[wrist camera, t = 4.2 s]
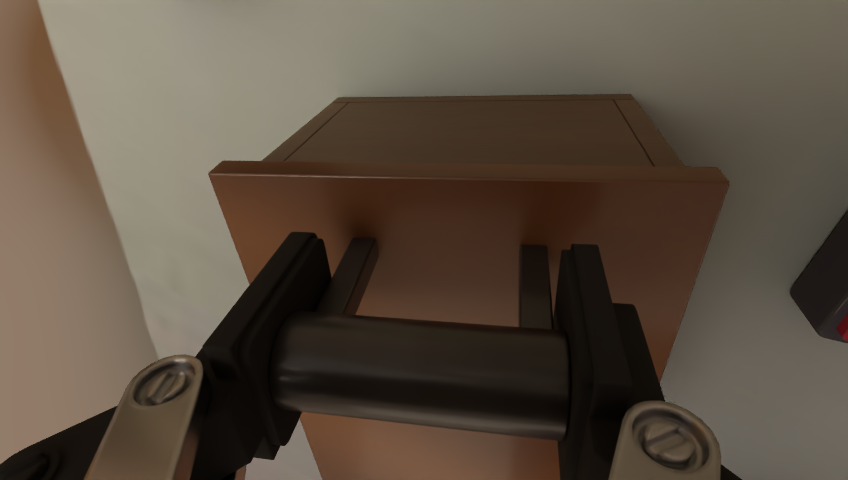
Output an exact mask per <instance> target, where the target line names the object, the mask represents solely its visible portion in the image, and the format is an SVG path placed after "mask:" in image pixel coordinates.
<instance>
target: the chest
mask: <svg viewBox="0 0 848 480" xmlns="http://www.w3.org/2000/svg"><path fill="white" fill-rule="evenodd" d="M262 161H288V162H362V163H437V164H511V165H586V166H660V167H685V166H684V164H683V163H682V162H681V160H680V159H679V158H678V156H677V155H676V154H675V152H674V151H673V150H672V148H671V147H670V146H669V144H668V143H667V142H666V140H665V139H664V138H663V137H662V135H661V134H660V133H659V131H658V130H657V129H656V127H655V126H654V125H653V123H652V122H651V121H650V119H649V118H648V117H647V115H646V114H645V113H644V111H643V110H642V109H641V107H640V106H639V105H638V103H637V102H636V101H635V100H634V98H633V97H632V96H631V94H605V95H523V96H441V97H358V98H337V99H336V100H334V101H333V102H332V103H331V104H330V105H328V106H327V107H326V108H325V109H324V110H322V111H321V112H320V113H319V114H318V115H316V116H315V117H314V118H313V119H311V120H310V121H309V122H308V123H307V124H305V125H304V126H303V127H302V128H301V129H299V130H298V131H297V132H296V133H295V134H293V135H292V136H291V137H290V138H289V139H287V140H286V141H285V142H284V143H282V144H281V145H280V146H279V147H278V148H276V149H275V150H274V151H273V152H272V153H270V154H269V155H268V156H267V157H266V158H264V159H263V160H262Z"/></svg>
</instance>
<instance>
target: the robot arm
mask: <svg viewBox="0 0 848 480" xmlns="http://www.w3.org/2000/svg"><path fill="white" fill-rule="evenodd" d="M331 278H332V277H331V272H330V267H329V262H328V257H327V253H326V248H325V243H324V241H323V239H321V238H318V237H317V235H316V234H315V233H314V232H291V233H290V234H289V235H288V236H287V238H286V239H285V240H284V241H283V243H282V244H281V245H280V247H279V248H278V249H277V250H276V252H275V253H274V254H273V256H272V257H271V258H270V260H269V261H268V262H267V263H266V265H265V266H264V267H263V269H262V270H261V271H260V272H259V274H258V275H257V276H256V278H255V279H254V280H253V282H252V283H251V284H250V285H249V287H248V288H247V289H246V291H245V292H244V293H243V294H242V296H241V297H240V298H239V300H238V301H237V302H236V304H235V305H234V306H233V307H232V309H231V310H230V311H229V313H228V314H227V315H226V316H225V318H224V319H223V320H222V322H221V323H220V324H219V325H218V327H217V328H216V329H215V331H214V332H213V333H212V335H211V336H210V337H209V338H208V340H207V341H206V342H205V344H204V345H203V348H202V349H201V350H200V352H199V353H198V354H197V355H196V357H194V356H189V355H174V356H170V357H166V358H163V359H160V360H158V361H157V362H154V363H152V364H150V365H149V366H147V367H146V368H144V369H143V370H141V371H140V372H139V373H138V374H137V375H136V376H135V377H134V378H133V379H132V380H131V382H130V383H129V385H128V386H127V388H126V389H125V392H124V394H123V396H122V398H121V400H120V402H119V404H118V406H116V407H114V408H111V409H109V410H107V411H105V412H103V413H100V414H98V415H96V416H94V417H92V418H90V419H87V420H85V421H83V422H81V423H79V424H76V425H74V426H72V427H70V428H68V429H66V430H63V431H61V432H59V433H57V434H55V435H53V436H50V437H48V438H46V439H44V440H42V441H40V442H37V443H35V444H33V445H31V446H29V447H27V448H25V449H23V450H21V451H19V452H18V453H16V454H14V455H12V456H11V457H9V458H8V459H7V460H6V461H4V462H3V463H2V464H0V480H244V479H245V473H246V465H247V464H249V463H250V462H251V461H252V459H253V457H255V458H262V459H270V460H274V458H275V456H276V454H277V452H278V450H279V448H280V445H281V446H285V445H286V444H287V443H288V442H289V440H290V438H291V435H292V433H293V431H294V429H295V427H296V425H297V422H298V420H299V418H300V416H301V414H302V412H299V411H291V410H283V409H280V408H279V407H278V406H276V404H275V403H274V401H273V399H272V396H271V393H270V388H269V363H270V356H271V351H272V347H273V344H274V341H275V338H276V335H277V333H278V330H279V328H280V326H281V325H282V323H283V322H284V320H285V319H286V318H287V317H288V316H289V315H290V314H291V313H293V312H296V311H309V312H315V310H316V308H317V306H318V304H319V302H320V300H321V298H322V296H323V294H324V292H325V290H326V288H327V286H328V284H329V282H330V280H331ZM553 321H554V330H563V331H565V332H566V334H567V337H568V341H569V347H570V357H571V410H570V421H569V428H568V433H567V436H566V439H565V440H564V441H557V442H558V456H559V470H560V479H561V480H742V479H740V478H739V477H738V476H736V475H735V474H733V473H732V472H731V471H729V470H728V469H727V468H725V467H724V466H723V465H721V453H720V447H719V443H718V441H717V439H716V437H715V436H714V434H713V432H712V430H711V429H710V428H709V427H708V426H707V425H706V424H705V423H704V422H703V421H702V420H701V419H700V418H698V417H697V416H696V415H694V414H693V413H691V412H690V411H689V410H686V409H684V408H682V407H680V406H678V405H675V404H672V403H668V402H665V400H664V397H663V393H662V390H661V387H660V384H659V380H658V377H657V374H656V371H655V367H654V364H653V361H652V358H651V354H650V351H649V348H648V345H647V342H646V338H645V335H644V332H643V329H642V325H641V322H640V319H639V316H638V312H637V310H636V307H635V306H634V305H633V304H623V303H612V299H611V295H610V291H609V287H608V283H607V279H606V275H605V271H604V267H603V263H602V259H601V255H600V251H599V247H598V245H595V244H572V245H571V248H570V250H566V249H562V251H561V258H560V266H559V274H558V283H557V291H556V299H555V307H554V316H553Z"/></svg>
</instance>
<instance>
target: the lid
mask: <svg viewBox="0 0 848 480" xmlns="http://www.w3.org/2000/svg"><path fill="white" fill-rule="evenodd" d="M209 177H210V180H211V183H212V185H213V188H214V191H215V193H216V196H217V199H218V201H219V204H220V207H221V209H222V212H223V215H224V217H225V220H226V223H227V225H228V228H229V231H230V233H231V236H232V239H233V242H234V244H235V247H236V250H237V252H238V255H239V258H240V260H241V263H242V266H243V268H244V271H245V274H246V276H247V279H248V282H249V284H251V283H252V282H253V280H254V279H255V278H256V276H257V275H258V274H259V272H260V271H261V270H262V269H263V267H264V266H265V265H266V263H267V262H268V261H269V260H270V258H271V257H272V256H273V254H274V253H275V252H276V250H277V249H278V248H279V247H280V245H281V244H282V243H283V241H284V240H285V239H286V238H287V236H288V235H289V234H290V233H291V232H314V233H315V234H316V235H317V237H318V238H321V239H323V241H324V243H325V248H326V253H327V257H328V262H329V267H330V272H331V277H332V278H331V280H330V282H329V284H328V286H327V288H326V290H325V292H324V294H323V296H322V298H321V300H320V302H319V304H318V306H317V308H316V310H315V312H309V311H296V312H293V313H291V314H290V315H289V316H288V317H287V318H286V319H285V320H284V322H283V323H282V325H281V326H280V328H279V330H278V333H277V335H276V338H275V341H274V344H273V347H272V351H271V356H270V363H269V388H270V393H271V396H272V399H273V401H274V403H275V404H276V406H278V407H279V408H280V409H283V410H291V411H299V412H302V414H301V416H300V421H301V423H302V426H303V429H304V431H305V434H306V437H307V439H308V442H309V445H310V447H311V450H312V453H313V455H314V458H315V461H316V463H317V466H318V469H319V471H320V474H321V477H322V479H323V480H561V479H560V470H559V456H558V442H557V441H564V440H565V439H566V436H567V433H568V428H569V421H570V410H571V357H570V347H569V341H568V337H567V334H566V332H565V331H563V330H554V321H553V316H554V307H555V299H556V291H557V283H558V274H559V266H560V258H561V251H562V249H566V250H570V248H571V245H572V244H595V245H598V247H599V251H600V255H601V259H602V263H603V267H604V271H605V275H606V279H607V283H608V287H609V291H610V295H611V299H612V303H623V304H633V305H634V306H635V307H636V310H637V312H638V316H639V319H640V322H641V325H642V329H643V332H644V335H645V338H646V342H647V345H648V348H649V351H650V354H651V358H652V361H653V364H654V367H655V371H656V374H657V377H658V380H659V383H660V380H661V377H662V375H663V372H664V369H665V366H666V363H667V360H668V357H669V355H670V352H671V349H672V346H673V343H674V340H675V338H676V335H677V332H678V329H679V326H680V323H681V321H682V318H683V315H684V312H685V309H686V306H687V303H688V301H689V298H690V295H691V292H692V289H693V286H694V284H695V281H696V278H697V275H698V272H699V269H700V267H701V264H702V261H703V258H704V255H705V252H706V249H707V247H708V244H709V241H710V238H711V235H712V232H713V230H714V227H715V224H716V221H717V218H718V215H719V213H720V210H721V207H722V204H723V201H724V198H725V195H726V193H727V190H728V187H729V181H728V180H727V179H726V177H725V176H724V175H723V173H722V172H721V171H720V169H719V168H717V167H660V166H586V165H511V164H437V163H362V162H288V161H222V162H221V163H219V164H218V165H217V166H216V167H215V168H214V169H212V170H211V171H210V172H209Z"/></svg>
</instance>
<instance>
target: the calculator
mask: <svg viewBox="0 0 848 480" xmlns="http://www.w3.org/2000/svg"><path fill="white" fill-rule="evenodd" d="M790 295H791V297H792V298H793V300H794V301H795V303H796V304H797V305H798V307H799V308H800V310H801V311H802V312H803V314H804V315H805V317H806V318H807V320H808V321H809V322H810V324H811V325H812V327H813V328H814V329H815V331H816V332H817V333H818V334H819V335H820V336H821V337H824V338H828V339H832V340H836V341H840V342H844V343H848V212H847V213H846V215H845V216H844V217H843V219H842V220H841V221H840V223H839V224H838V226H837V227H836V228H835V230H834V231H833V232H832V234H831V235H830V237H829V238H828V239H827V241H826V242H825V243H824V245H823V246H822V247H821V249H820V250H819V252H818V253H817V254H816V256H815V257H814V258H813V260H812V261H811V263H810V264H809V265H808V267H807V268H806V269H805V271H804V272H803V273H802V275H801V276H800V278H799V279H798V280H797V282H796V283H795V284H794V286H793V287H792V289H791V291H790Z"/></svg>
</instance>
